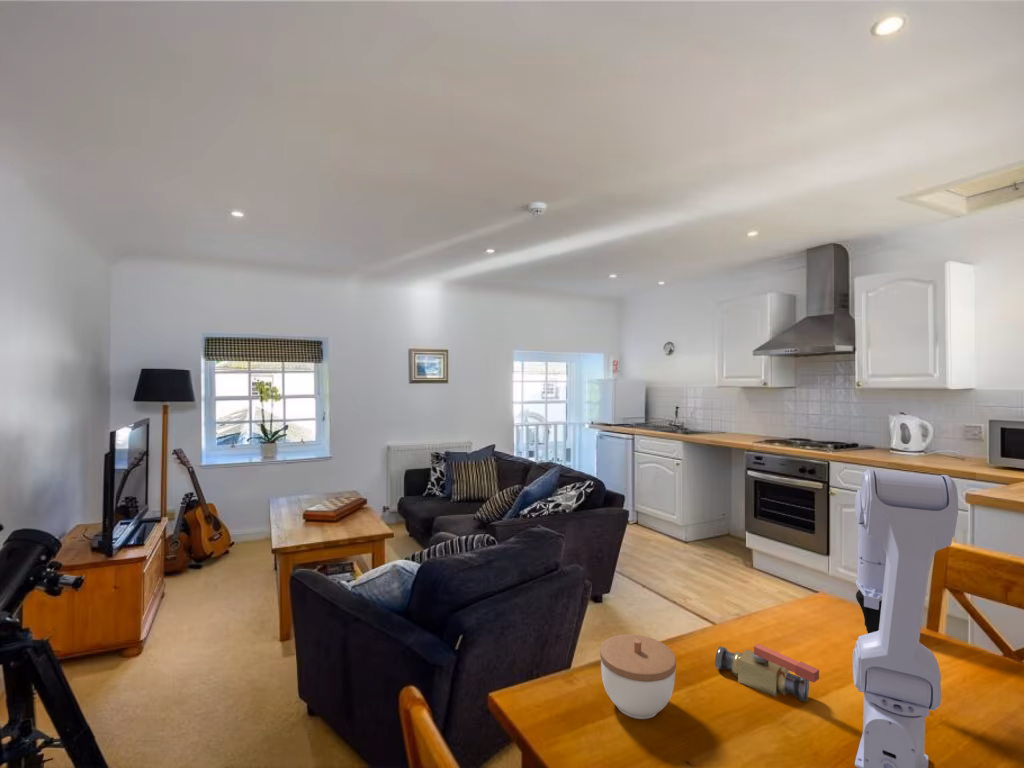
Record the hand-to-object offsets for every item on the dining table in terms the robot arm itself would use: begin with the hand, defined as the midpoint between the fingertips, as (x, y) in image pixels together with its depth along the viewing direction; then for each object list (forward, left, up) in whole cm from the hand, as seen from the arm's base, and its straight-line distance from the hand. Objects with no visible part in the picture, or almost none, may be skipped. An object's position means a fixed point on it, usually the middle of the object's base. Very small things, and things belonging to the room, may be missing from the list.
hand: (875, 634), depth 90 cm
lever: (-12, +12, -6) cm, 18 cm away
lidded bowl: (-32, +30, -11) cm, 45 cm away
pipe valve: (-11, +16, -10) cm, 22 cm away
